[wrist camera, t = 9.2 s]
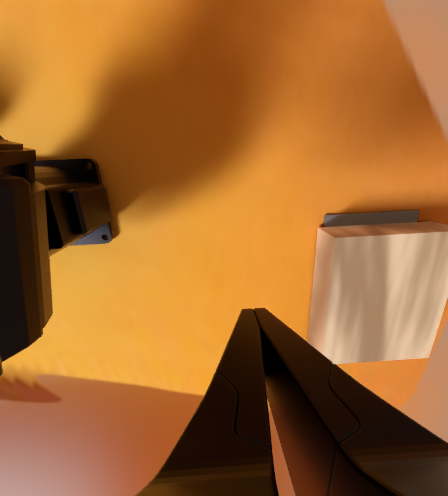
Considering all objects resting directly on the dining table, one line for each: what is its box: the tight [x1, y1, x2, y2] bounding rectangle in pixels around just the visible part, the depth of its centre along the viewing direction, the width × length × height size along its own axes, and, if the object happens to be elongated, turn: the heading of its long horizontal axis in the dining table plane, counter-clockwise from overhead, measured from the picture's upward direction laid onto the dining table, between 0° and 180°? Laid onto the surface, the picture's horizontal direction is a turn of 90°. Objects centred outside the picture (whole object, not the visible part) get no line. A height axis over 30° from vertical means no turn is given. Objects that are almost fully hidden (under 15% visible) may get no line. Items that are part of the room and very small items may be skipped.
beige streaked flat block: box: [308, 221, 448, 364], centre depth 21 cm, size 3×12×10 cm
